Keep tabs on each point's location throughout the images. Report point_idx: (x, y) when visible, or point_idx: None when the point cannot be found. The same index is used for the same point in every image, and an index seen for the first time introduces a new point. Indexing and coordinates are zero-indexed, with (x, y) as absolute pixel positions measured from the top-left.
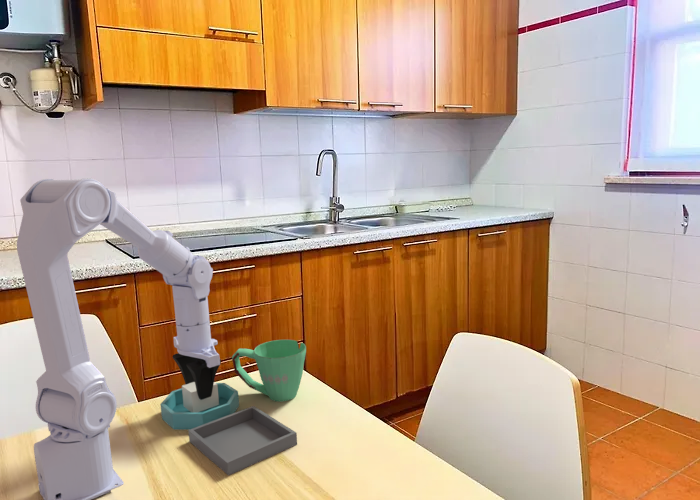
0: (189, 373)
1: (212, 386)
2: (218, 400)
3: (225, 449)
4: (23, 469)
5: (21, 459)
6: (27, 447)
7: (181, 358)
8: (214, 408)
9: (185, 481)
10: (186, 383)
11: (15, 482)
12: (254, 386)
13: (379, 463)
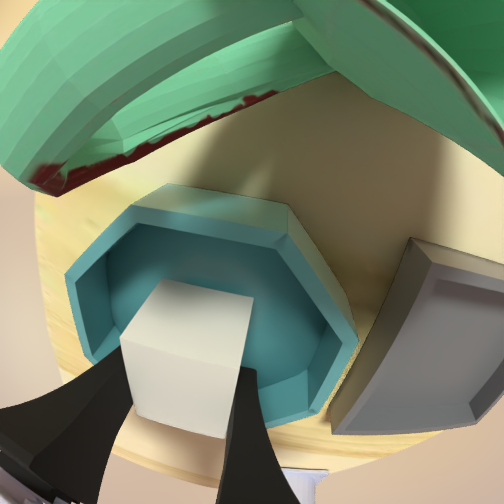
0: (110, 425)
1: (260, 406)
2: (250, 310)
3: (431, 385)
4: (176, 473)
5: (149, 464)
6: (121, 451)
7: (88, 499)
8: (327, 382)
9: (406, 436)
10: (130, 404)
11: (200, 482)
12: (266, 87)
13: None
